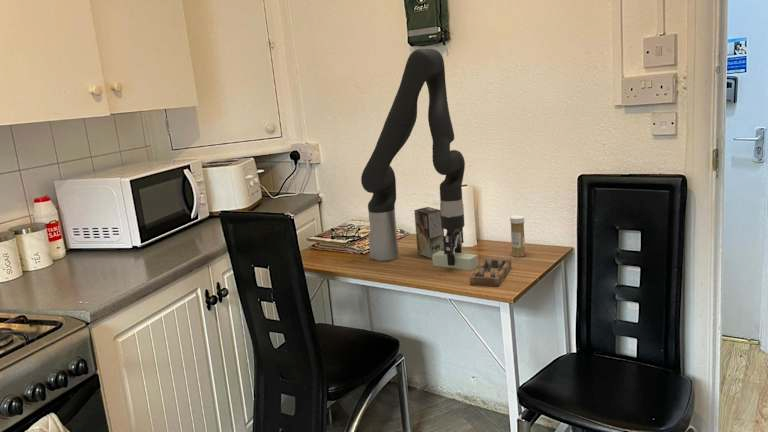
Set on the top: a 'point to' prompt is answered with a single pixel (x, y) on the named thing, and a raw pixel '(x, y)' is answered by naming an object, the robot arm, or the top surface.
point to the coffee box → (429, 231)
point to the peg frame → (491, 264)
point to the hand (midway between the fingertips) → (454, 261)
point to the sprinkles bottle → (517, 235)
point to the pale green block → (456, 260)
